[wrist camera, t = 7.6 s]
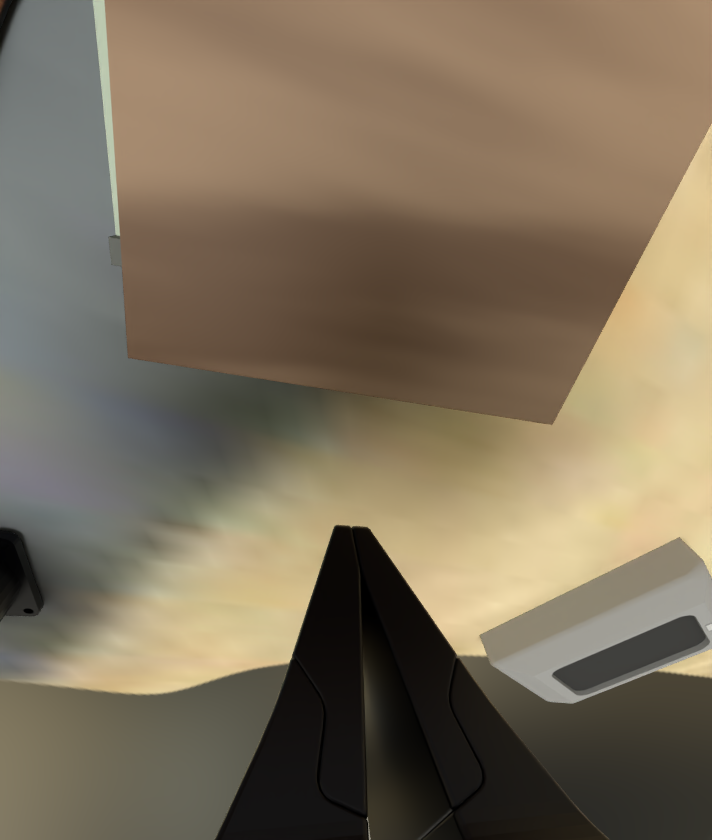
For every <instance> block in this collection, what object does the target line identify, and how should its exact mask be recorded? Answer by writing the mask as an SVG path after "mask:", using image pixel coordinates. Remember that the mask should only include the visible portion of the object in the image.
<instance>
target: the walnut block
mask: <svg viewBox="0 0 712 840" xmlns="http://www.w3.org/2000/svg"><path fill="white" fill-rule="evenodd" d="M104 1H105V17H106V32H107V47H108V62H109V77H110V92H111V107H112V123H113V138H114V153H115V168H116V183H117V198H118V213H119V229H120V244H121V259H122V274H123V289H124V304H125V319H126V335H127V350H128V358H132V359H138V360H145V361H151V362H157V363H164V364H170V365H176V366H183V367H189V368H195V369H202V370H208V371H214V372H221V373H227V374H233V375H240V376H246V377H252V378H259V379H265V380H271V381H278V382H284V383H290V384H297V385H303V386H309V387H316V388H322V389H328V390H335V391H341V392H348V393H354V394H360V395H367V396H373V397H379V398H386V399H392V400H398V401H405V402H411V403H417V404H424V405H430V406H436V407H443V408H449V409H455V410H462V411H468V412H474V413H481V414H487V415H493V416H500V417H506V418H512V419H519V420H525V421H531V422H538V423H544V424H550V425H552V424H553V423H554V421H555V419H556V417H557V415H558V413H559V411H560V409H561V407H562V405H563V404H564V402H565V400H566V398H567V396H568V394H569V392H570V390H571V388H572V387H573V385H574V383H575V381H576V379H577V377H578V375H579V373H580V371H581V370H582V368H583V366H584V364H585V362H586V360H587V358H588V356H589V354H590V352H591V351H592V349H593V347H594V345H595V343H596V341H597V339H598V337H599V335H600V334H601V332H602V330H603V328H604V326H605V324H606V322H607V320H608V318H609V317H610V315H611V313H612V311H613V309H614V307H615V305H616V303H617V301H618V299H619V298H620V296H621V294H622V292H623V290H624V288H625V286H626V284H627V282H628V281H629V279H630V277H631V275H632V273H633V271H634V269H635V267H636V265H637V264H638V262H639V260H640V258H641V256H642V254H643V252H644V250H645V248H646V246H647V245H648V243H649V241H650V239H651V237H652V235H653V233H654V231H655V229H656V228H657V226H658V224H659V222H660V220H661V218H662V216H663V214H664V212H665V211H666V209H667V207H668V205H669V203H670V201H671V199H672V197H673V195H674V193H675V192H676V190H677V188H678V186H679V184H680V182H681V180H682V178H683V176H684V175H685V173H686V171H687V169H688V167H689V165H690V163H691V161H692V159H693V158H694V156H695V154H696V152H697V150H698V148H699V146H700V144H701V142H702V140H703V139H704V137H705V135H706V133H707V131H708V129H709V127H710V125H711V123H712V0H104Z"/></svg>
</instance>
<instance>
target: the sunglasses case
mask: <svg viewBox="0 0 712 840" xmlns="http://www.w3.org/2000/svg"><path fill="white" fill-rule="evenodd" d="M11 1H12V0H0V29H1V26H2V23H3V21H4V18H5V16H6V14H7V11H8V9H9V6H10V4H11Z"/></svg>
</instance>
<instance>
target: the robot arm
mask: <svg viewBox="0 0 712 840" xmlns="http://www.w3.org/2000/svg"><path fill="white" fill-rule="evenodd" d="M42 608H43V602H42V599H41V596H40V594H39V591H38V588H37V585H36V582H35V579H34V577H33V574H32V571H31V568H30V565H29V562H28V560H27V557H26V554H25V551H24V548H23V545H22V543H21V540H20V538H19V536H17V535H16V534H14V533H12V532H7V531H0V621H1V620H2V619H3V617H4V616H5V615H6V616H36V615H38V614H39V612H40V611H41V609H42ZM456 657H457V654H456V653H455V651H454V650H453V648H452V647H451V645H450V644H449V642H448V641H447V640H446V638H445V637H444V635H443V634H442V632H441V631H440V630H439V628H438V627H437V625H436V624H435V622H434V621H433V619H432V618H431V617H430V615H429V614H428V612H427V611H426V609H425V608H424V606H423V605H422V604H421V602H420V601H419V599H418V598H417V596H416V595H415V594H414V592H413V591H412V589H411V588H410V586H409V585H408V583H407V582H406V581H405V579H404V578H403V576H402V575H401V573H400V572H399V571H398V569H397V568H396V566H395V565H394V563H393V562H392V560H391V559H390V558H389V556H388V555H387V553H386V552H385V550H384V549H383V548H382V546H381V545H380V543H379V542H378V540H377V539H376V537H375V536H374V535H373V533H372V532H371V530H370V529H369V528H367V527H360V526H353V527H352V528H351V527H350V526H345V525H336V526H334V529H333V532H332V535H331V538H330V541H329V544H328V547H327V550H326V553H325V556H324V559H323V562H322V565H321V569H320V572H319V575H318V578H317V581H316V584H315V587H314V590H313V593H312V596H311V599H310V602H309V605H308V608H307V611H306V615H305V618H304V621H303V624H302V627H301V630H300V633H299V636H298V639H297V642H296V645H295V648H294V651H293V654H292V658H291V660H290V663H289V666H288V669H287V672H286V675H285V678H284V681H283V684H282V687H281V690H280V692H279V695H278V698H277V701H276V703H275V706H274V709H273V711H272V714H271V716H270V718H269V721H268V723H267V725H266V728H265V730H264V733H263V735H262V737H261V739H260V742H259V744H258V746H257V748H256V750H255V753H254V755H253V757H252V759H251V761H250V764H249V766H248V768H247V770H246V772H245V774H244V777H243V779H242V781H241V783H240V785H239V787H238V790H237V792H236V794H235V796H234V798H233V801H232V803H231V805H230V807H229V809H228V811H227V813H226V816H225V818H224V820H223V822H222V825H221V827H220V829H219V831H218V833H217V835H216V838H215V839H214V840H369V837H368V836H369V835H368V822H367V820H366V819H367V817H368V821H369V829H370V837H371V840H610V839H609V838H607V837H606V836H605V835H604V834H603V833H602V832H601V831H600V830H599V829H598V828H597V827H596V826H595V825H594V824H592V823H591V821H590V820H589V819H588V818H587V817H586V816H585V815H584V814H583V813H582V812H581V811H580V810H579V809H578V808H577V806H576V805H575V804H574V803H573V802H572V801H571V799H569V797H568V796H567V795H566V793H565V792H564V791H563V790H562V789H561V787H560V786H559V785H558V784H557V783H556V781H555V780H554V779H553V778H552V777H551V775H550V774H549V773H548V772H547V770H546V769H545V768H544V767H543V766H542V764H541V763H540V762H539V761H538V759H537V758H536V757H535V756H534V755H533V754H532V752H531V751H530V750H529V749H528V747H527V746H526V745H525V744H524V742H523V741H522V740H521V739H520V738H519V736H518V735H517V734H516V733H515V732H514V730H513V729H512V728H511V727H510V725H509V724H508V723H507V722H506V721H505V719H504V718H503V717H502V715H501V714H500V713H499V711H498V710H497V709H496V708H495V706H494V705H493V704H492V703H491V701H490V700H489V699H488V697H487V696H486V695H485V693H484V692H483V690H482V689H481V688H480V687H479V685H478V684H477V682H476V681H475V680H474V678H473V677H472V675H471V674H470V672H469V671H468V670H467V668H466V667H465V665H464V664H463V662H462V661H461V660H460V658H458V657H457V658H456Z"/></svg>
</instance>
